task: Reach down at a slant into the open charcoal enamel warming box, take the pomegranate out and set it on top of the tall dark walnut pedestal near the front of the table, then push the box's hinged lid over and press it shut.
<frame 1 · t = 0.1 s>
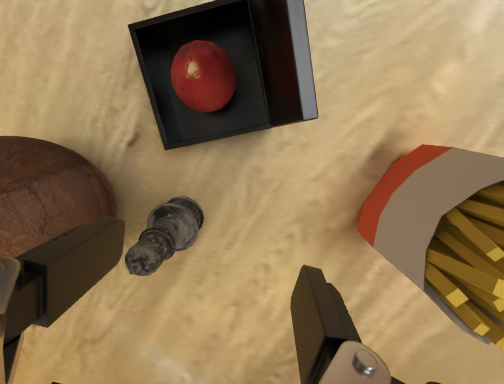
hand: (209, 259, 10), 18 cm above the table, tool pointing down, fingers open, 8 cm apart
box lid: (271, 33, 14), point 11 cm above the table, hinge at 95.0°
grey chess piece: (183, 216, 30), on the table
french fries container: (389, 191, 27), on the table
wooden sphere: (85, 194, 30), on the table
pomegranate: (213, 86, 25), resting on warming box
warming box: (214, 86, 25), on the table
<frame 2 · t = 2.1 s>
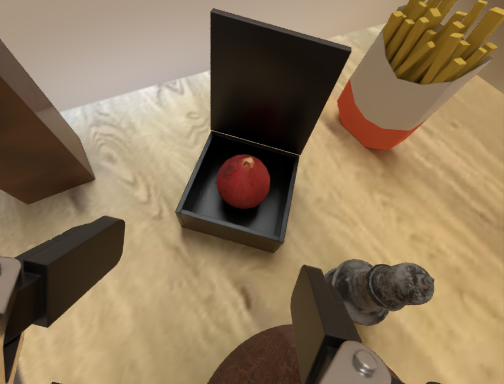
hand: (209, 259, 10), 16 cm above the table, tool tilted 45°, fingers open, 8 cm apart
box lid: (266, 97, 22), point 11 cm above the table, hinge at 95.0°
grey chess piece: (343, 293, 26), on the table
french fries container: (360, 131, 38), on the table
pomegranate: (240, 197, 29), resting on warming box
warming box: (240, 198, 29), on the table
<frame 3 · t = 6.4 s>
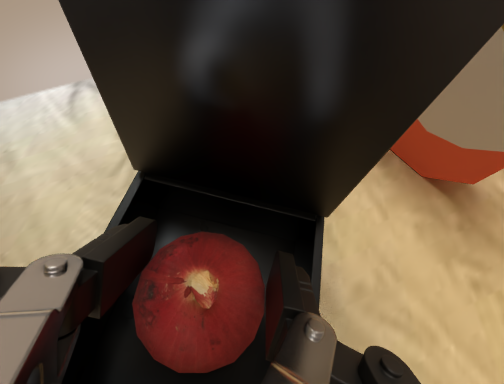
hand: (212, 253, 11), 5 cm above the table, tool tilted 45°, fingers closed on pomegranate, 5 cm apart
box lid: (244, 95, 8), point 11 cm above the table, hinge at 95.0°
french fries container: (407, 149, 23), on the table
pomegranate: (206, 300, 14), resting on warming box, touching gripper
warming box: (206, 300, 14), on the table
when the fingers open (23 cm above the table, at t = 16.5 s): pomegranate stays where it is, resting on pedestal.
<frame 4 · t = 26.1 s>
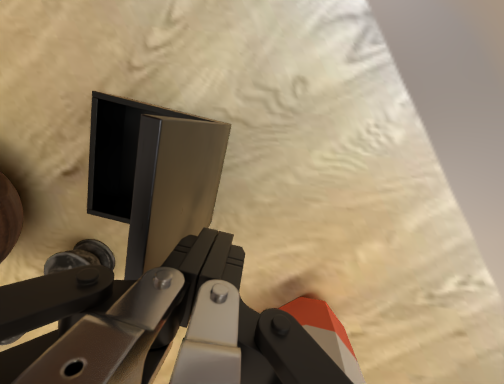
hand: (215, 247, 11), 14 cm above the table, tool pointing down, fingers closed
box lid: (187, 211, 14), point 11 cm above the table, hinge at 89.4°
grey chess piece: (95, 257, 29), on the table
french fries container: (289, 315, 29), on the table
warming box: (170, 164, 25), on the table
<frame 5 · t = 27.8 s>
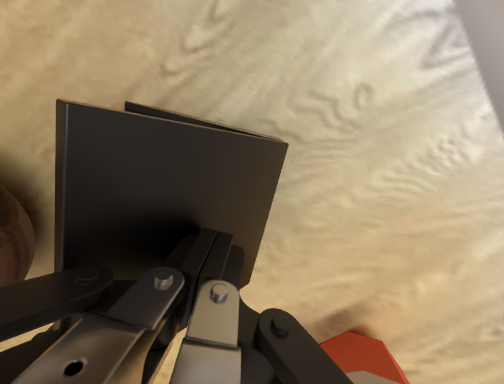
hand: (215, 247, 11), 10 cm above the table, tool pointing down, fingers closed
box lid: (202, 238, 12), point 10 cm above the table, hinge at 56.8°, touching gripper
french fries container: (333, 351, 26), on the table
wooden sphere: (6, 217, 24), on the table
warming box: (206, 183, 21), on the table
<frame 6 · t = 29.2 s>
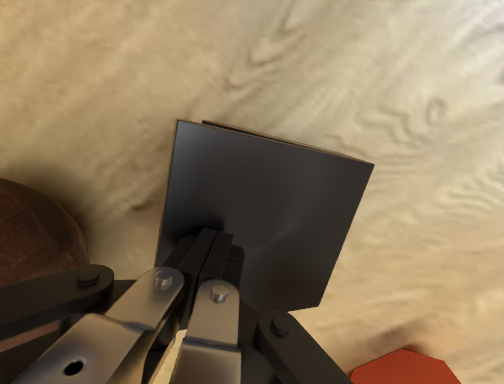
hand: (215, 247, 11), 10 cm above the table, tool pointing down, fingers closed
box lid: (267, 239, 13), point 8 cm above the table, hinge at 27.4°, touching gripper
french fries container: (384, 368, 25), on the table
wooden sphere: (53, 233, 23), on the table
warming box: (264, 199, 21), on the table
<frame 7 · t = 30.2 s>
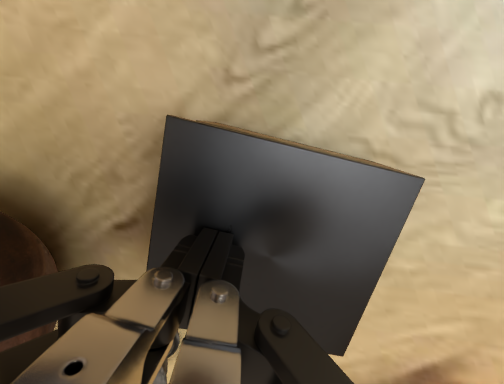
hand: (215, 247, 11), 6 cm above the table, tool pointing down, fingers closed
box lid: (269, 252, 12), point 5 cm above the table, hinge at 4.3°, touching gripper
grey chess piece: (151, 334, 21), on the table
wooden sphere: (23, 254, 19), on the table
warming box: (273, 216, 17), on the table
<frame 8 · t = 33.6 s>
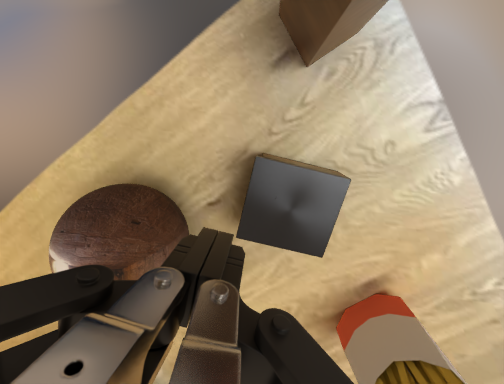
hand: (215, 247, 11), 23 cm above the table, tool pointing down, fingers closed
box lid: (290, 208, 29), point 5 cm above the table, hinge at 1.7°
french fries container: (365, 308, 39), on the table
wooden sphere: (155, 219, 37), on the table
warming box: (289, 198, 34), on the table
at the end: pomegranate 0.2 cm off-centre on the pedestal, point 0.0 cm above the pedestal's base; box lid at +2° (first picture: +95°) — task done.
